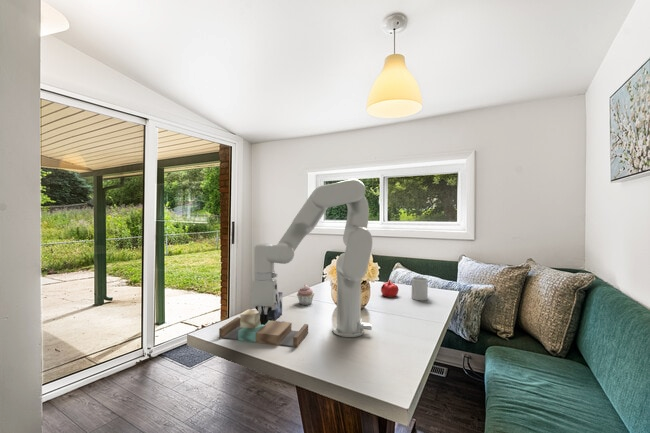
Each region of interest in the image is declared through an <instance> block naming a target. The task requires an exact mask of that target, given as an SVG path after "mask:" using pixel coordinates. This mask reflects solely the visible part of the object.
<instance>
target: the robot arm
mask: <svg viewBox="0 0 650 433" xmlns="http://www.w3.org/2000/svg"><path fill="white" fill-rule="evenodd" d="M365 194H366V186H365V184H364V183H363V182H362V181H361V180H359V179H357V178H351V179H347V180H346V179H345V180H342V181H338V182H335V183H328V184H324V185H323V184H322V185H320V186H317V187H316V188H315V189H314V190H313V191H312V192H311V194H310V195H309V197H308V198H307V199H306V200H305V203H304V204H303V205H302V207H301V208H300V210H299V211H298V212H297V214H296V215H295V217H294V218H293V220H292V222H291V224H290V225H289V227H288V228H287V229H286V231H285V232H284V234H283V235H282V237H281V238H280V239H279V241H278V243H276V244H275V245H273V244H272V243H258V244H255V246H254V247H253V248H254V249H253V269H254V270H253V271H254V272H253V275H254V276H253V279H252V283H251V288H250V295H249V296H250V307H251V309H254V310H257V311H258V313H259V314H260V322H261V325H262V324H263V325H265V324H267V323H268V321H269V312H270V311H271V310H276V309H277V308H278V306H277V303H278V302H279V295H278V292H279V287H278V282H277V281H278V280H277V278H278V273H275V264H282V265H284V264H289V263H291V262H292V261H293V259H294V257H295V251H296V250H297V248H298V247H299V245H300V244H301V242H302V241H303V240H304V238H305V237H306V236H308V235H309V234H310V233H311V232H312V231H313V230H314V229H315V228H316V226H317V225H318V224H319V222H320V220H321V219H322V217H323V216H324V214H326V211H327V210H328V208H333V207H338V206H343V205H346V208H347V216H346V222H345V227H344V230H343V235H342V241H343V242H342V243H343V244H344V245H345V252H343V253H341V254H340V255H338V257H337V260H336V263H335V264H336V266H335V269H336V271H335V272H336V324H335V325H333V327H332V332H333V333H334V334H335V335H337V336H338V337H343V338H356V337H360V336H363V335H364V334H365V330H366V331H372V328H373V326H372V324H370V323H369V322H363V318H361V317H362V316H361V314H362V312H361V310H362V309H361V307H362V306H361V304H362V303H361V302H362V296H361V294H362V283H361V282H362V281H361V280H362V279H363V278H364V277H365V276H366V274H367V271H368V268H369V264H370V260H371V259H370V258H371V254H372V248H373V237H372V234H371V232H370V231H369V229H368V224H369V217H370V216H369V215H370V206H369V202H368V200H367V197H366V196H365ZM264 307H265V310H264Z"/></svg>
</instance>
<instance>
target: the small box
mask: <svg viewBox="0 0 650 433" xmlns="http://www.w3.org/2000/svg"><path fill="white" fill-rule="evenodd" d="M278 295H279V302H278V303H277V306H278V308H277V309H276V310H271V311H270V312H269V320H270V321H277V320H278V318H280V317H281V316H282V315H283V292H282V291H281V292H280V291H278ZM264 310H265V307H264Z"/></svg>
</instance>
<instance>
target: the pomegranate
mask: <svg viewBox="0 0 650 433" xmlns="http://www.w3.org/2000/svg"><path fill="white" fill-rule="evenodd" d="M380 292H381V295H383V297H386V298H394V297H396V296H397V295H398V293H399V287H398V285H397V284H396V282H394V281H391V279H388V281H386V282H383V283H382V286H381V287H380Z"/></svg>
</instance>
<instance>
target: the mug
mask: <svg viewBox="0 0 650 433" xmlns="http://www.w3.org/2000/svg"><path fill="white" fill-rule="evenodd" d="M428 283H429V282H428V278H424V277H419V276H417V277H412V278H411V299H412V300H414V299H415V301H418V300H425V301H428V293H429V292H428V291H429V290H428Z"/></svg>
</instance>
